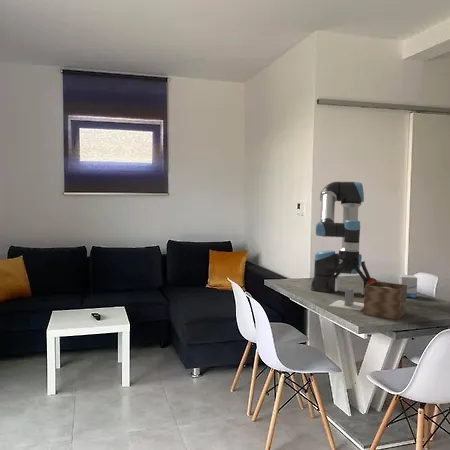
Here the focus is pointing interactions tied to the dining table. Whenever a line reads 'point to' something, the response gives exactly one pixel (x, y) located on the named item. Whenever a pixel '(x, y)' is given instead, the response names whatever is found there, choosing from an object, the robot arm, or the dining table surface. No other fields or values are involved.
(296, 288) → the dining table surface
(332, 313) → the dining table surface
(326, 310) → the dining table surface
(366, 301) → the crate
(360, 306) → the lid
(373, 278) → the apple
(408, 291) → the ink box
